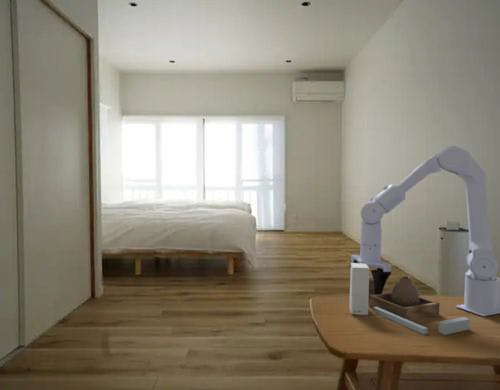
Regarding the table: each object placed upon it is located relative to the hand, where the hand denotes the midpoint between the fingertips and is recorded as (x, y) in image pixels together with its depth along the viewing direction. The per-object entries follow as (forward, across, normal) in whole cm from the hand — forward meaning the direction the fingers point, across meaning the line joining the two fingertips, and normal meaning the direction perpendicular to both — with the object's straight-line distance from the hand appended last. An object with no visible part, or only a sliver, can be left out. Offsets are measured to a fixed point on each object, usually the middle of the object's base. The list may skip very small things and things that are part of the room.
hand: (369, 291), depth 116 cm
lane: (+2, +20, -2) cm, 20 cm away
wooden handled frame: (+2, +9, 0) cm, 9 cm away
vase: (+2, +13, 0) cm, 13 cm away
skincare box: (+2, +9, -11) cm, 14 cm away
